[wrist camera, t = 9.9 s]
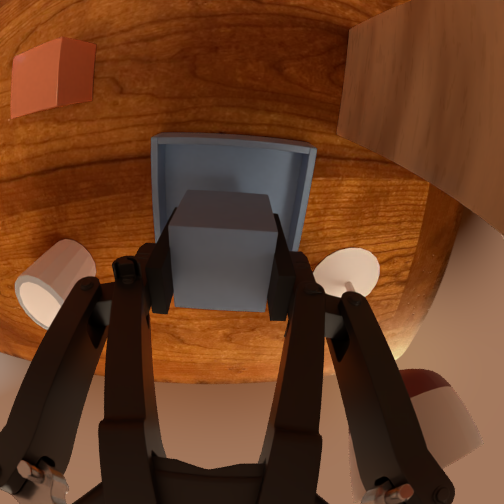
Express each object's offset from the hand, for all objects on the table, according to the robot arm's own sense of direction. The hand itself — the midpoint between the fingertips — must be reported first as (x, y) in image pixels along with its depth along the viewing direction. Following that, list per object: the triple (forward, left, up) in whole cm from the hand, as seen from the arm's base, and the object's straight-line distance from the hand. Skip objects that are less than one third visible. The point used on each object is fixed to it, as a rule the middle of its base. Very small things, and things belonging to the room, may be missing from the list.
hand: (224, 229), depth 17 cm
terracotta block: (+14, -11, -5) cm, 18 cm away
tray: (0, 0, -5) cm, 5 cm away
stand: (-12, -11, -5) cm, 17 cm away
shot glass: (+16, +7, -5) cm, 18 cm away
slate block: (0, 0, 0) cm, 0 cm away
